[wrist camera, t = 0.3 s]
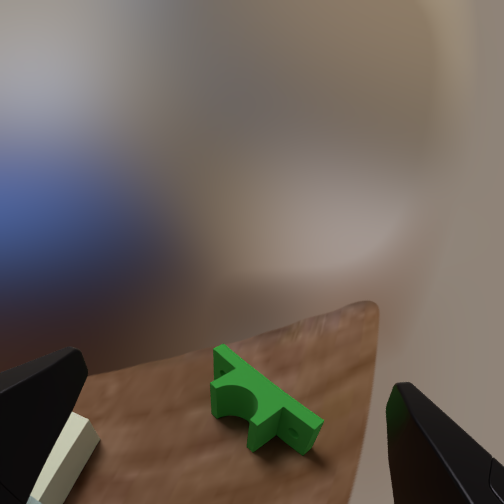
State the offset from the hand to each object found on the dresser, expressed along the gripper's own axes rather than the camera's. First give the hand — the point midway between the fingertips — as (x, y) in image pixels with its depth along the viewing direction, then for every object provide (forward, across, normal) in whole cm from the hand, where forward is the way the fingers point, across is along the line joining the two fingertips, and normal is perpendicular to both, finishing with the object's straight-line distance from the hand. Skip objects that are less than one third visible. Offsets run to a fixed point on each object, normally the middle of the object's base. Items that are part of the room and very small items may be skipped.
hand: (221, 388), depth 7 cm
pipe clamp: (+11, +1, +16) cm, 19 cm away
